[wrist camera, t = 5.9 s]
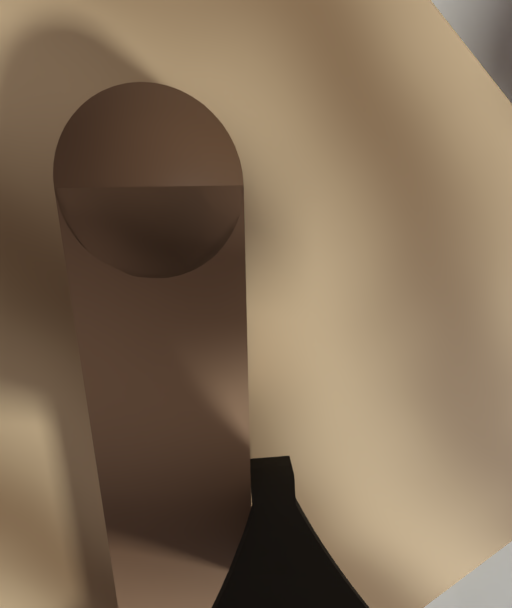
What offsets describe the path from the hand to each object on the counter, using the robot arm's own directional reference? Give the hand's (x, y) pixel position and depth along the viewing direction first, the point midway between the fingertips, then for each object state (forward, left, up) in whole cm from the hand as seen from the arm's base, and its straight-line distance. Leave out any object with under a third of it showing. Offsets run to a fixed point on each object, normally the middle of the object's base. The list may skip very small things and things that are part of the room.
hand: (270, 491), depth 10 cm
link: (-2, +1, -1) cm, 2 cm away
